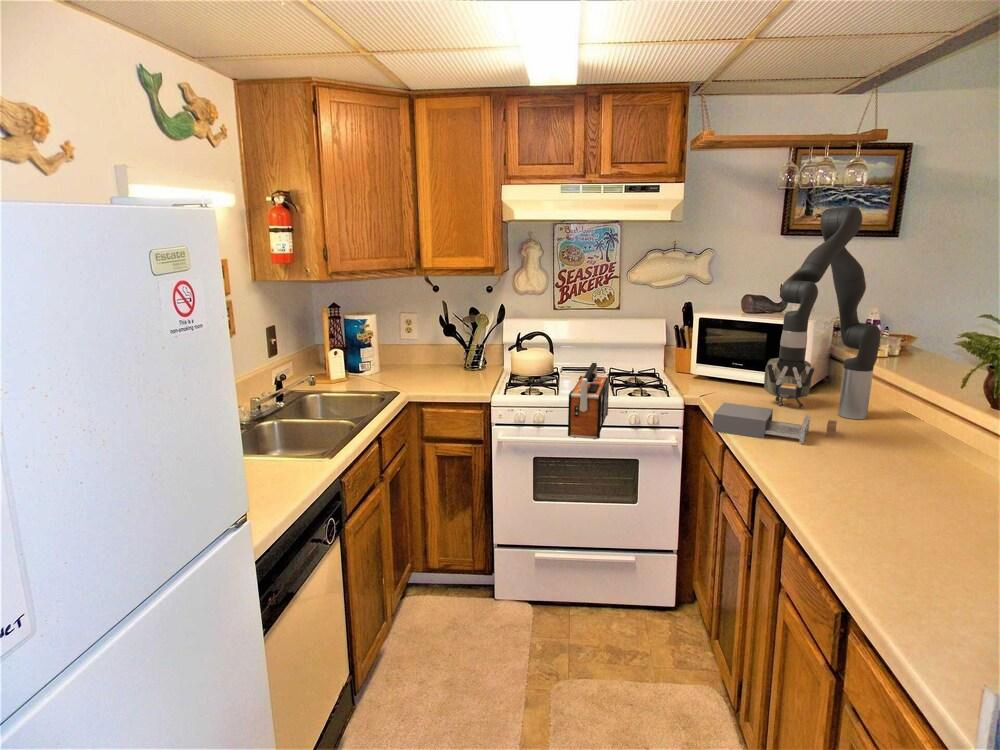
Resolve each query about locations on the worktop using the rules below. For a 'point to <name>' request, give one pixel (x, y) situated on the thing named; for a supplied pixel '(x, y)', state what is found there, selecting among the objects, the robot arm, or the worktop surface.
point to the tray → (789, 429)
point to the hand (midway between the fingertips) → (787, 396)
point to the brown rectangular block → (831, 428)
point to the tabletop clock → (771, 386)
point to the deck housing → (741, 420)
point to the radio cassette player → (588, 405)
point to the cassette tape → (788, 389)
